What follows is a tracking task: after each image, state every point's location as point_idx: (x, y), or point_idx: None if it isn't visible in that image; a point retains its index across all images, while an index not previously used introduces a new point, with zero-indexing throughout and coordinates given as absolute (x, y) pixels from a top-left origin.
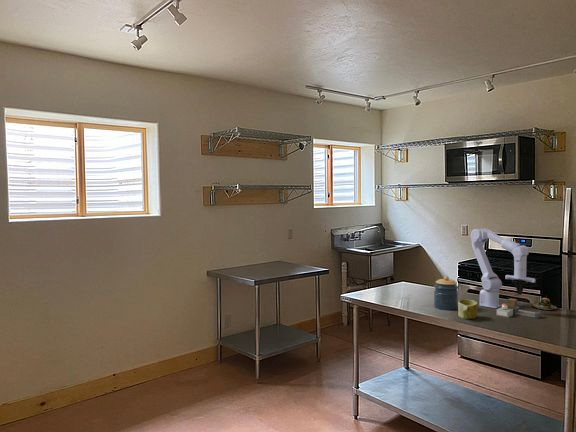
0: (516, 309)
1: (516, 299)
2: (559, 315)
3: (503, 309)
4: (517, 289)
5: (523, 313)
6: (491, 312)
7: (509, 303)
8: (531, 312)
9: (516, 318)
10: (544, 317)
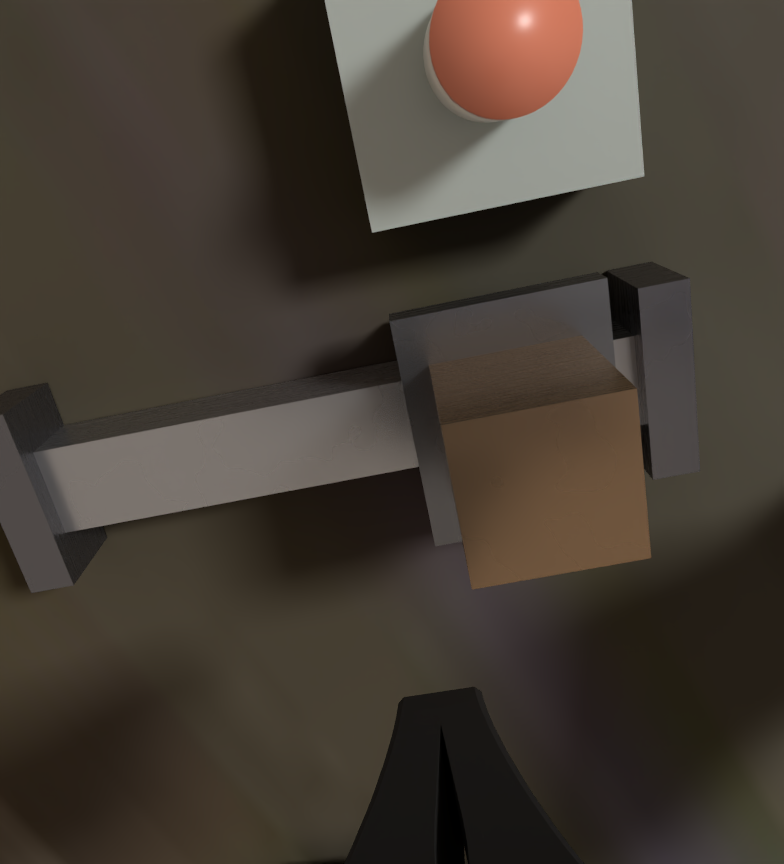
0: None
1: (478, 571)
2: (17, 802)
3: None
4: (491, 792)
5: (264, 394)
6: (766, 33)
7: (549, 368)
8: (138, 467)
9: (184, 47)
10: None
